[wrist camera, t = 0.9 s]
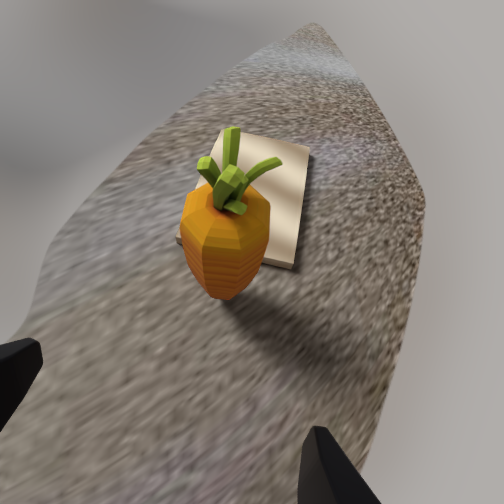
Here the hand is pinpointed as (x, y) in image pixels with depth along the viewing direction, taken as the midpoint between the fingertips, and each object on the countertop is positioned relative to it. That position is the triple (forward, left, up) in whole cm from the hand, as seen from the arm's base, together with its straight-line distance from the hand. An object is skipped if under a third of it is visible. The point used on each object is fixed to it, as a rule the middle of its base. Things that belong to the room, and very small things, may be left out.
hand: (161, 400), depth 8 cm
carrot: (+9, +2, -14) cm, 17 cm away
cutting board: (+20, +4, -14) cm, 25 cm away
